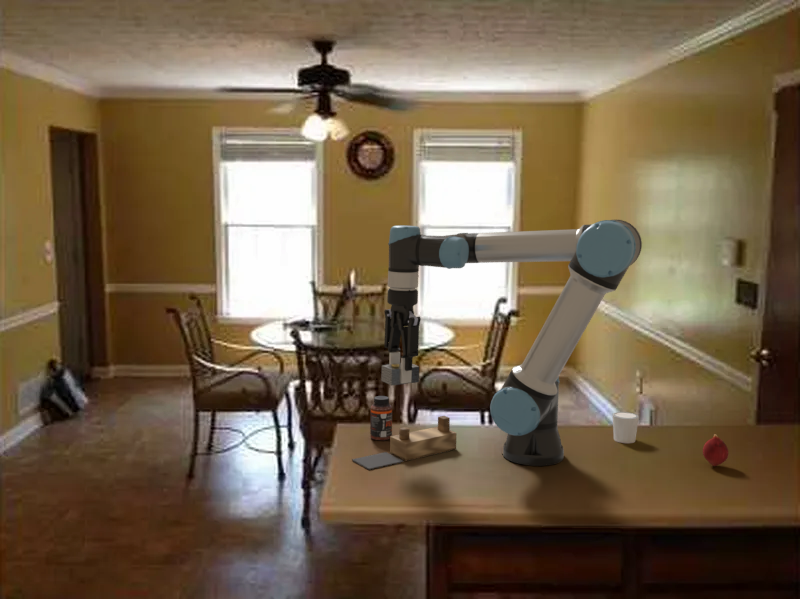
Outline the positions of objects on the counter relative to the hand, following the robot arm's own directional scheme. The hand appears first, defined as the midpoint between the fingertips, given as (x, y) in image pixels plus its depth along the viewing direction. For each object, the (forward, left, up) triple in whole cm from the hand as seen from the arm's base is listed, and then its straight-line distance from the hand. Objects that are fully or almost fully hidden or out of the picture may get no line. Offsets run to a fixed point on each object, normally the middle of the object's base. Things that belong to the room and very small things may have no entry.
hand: (399, 379), depth 194 cm
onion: (-50, -60, -20) cm, 80 cm away
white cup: (-24, -58, -20) cm, 65 cm away
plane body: (-1, -7, -20) cm, 21 cm away
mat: (-1, +7, -20) cm, 21 cm away
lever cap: (0, 0, 0) cm, 0 cm away
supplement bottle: (+14, -4, -20) cm, 25 cm away
